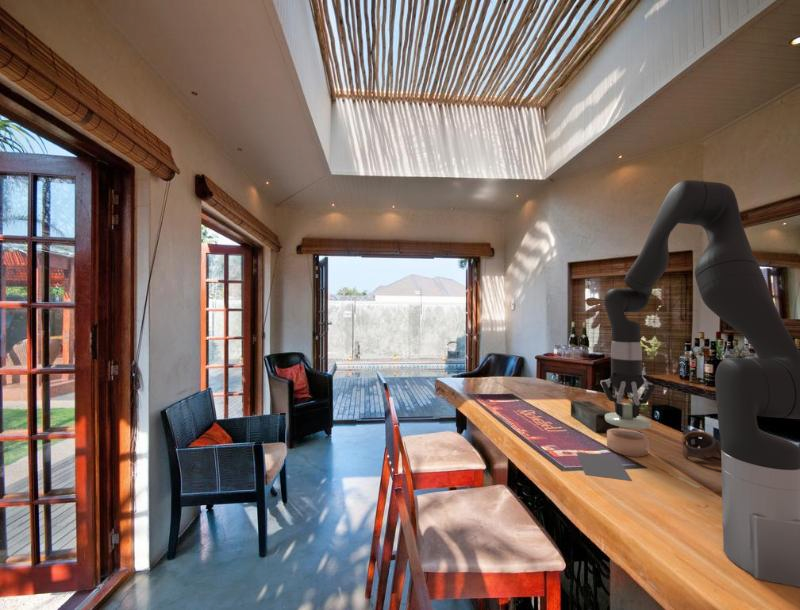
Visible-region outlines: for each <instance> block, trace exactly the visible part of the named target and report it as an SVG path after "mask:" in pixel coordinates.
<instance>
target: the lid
mask: <svg viewBox="0 0 800 610" xmlns="http://www.w3.org/2000/svg"><path fill="white" fill-rule="evenodd" d="M621 404H622V417H619V416H618V415H617V414H616V412H615V411H614V412H612V413H607V414H605V421H606V422H608V423H610V424H612V425H616V426H619V428H623V429H630V430H645V429H650V428H651V420H650V419H649V418H647V417H644V416H641V415H639V416H637V418H633V405H632V404H631V403H628V402H621Z"/></svg>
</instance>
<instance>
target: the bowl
mask: <svg viewBox="0 0 800 610" xmlns="http://www.w3.org/2000/svg"><path fill="white" fill-rule="evenodd" d="M606 446H607V448H608V449H609V450H611V451H612V452H615V453H616V454H620V455H622V456H627V457H628V456H629V457H639V458H640V457H643V456H647V455H648V454H649V436H648V435H646V434H644V433H643V432H639V431H636V430H634V429H629V428H620V427H619V428H615V429H609V430H607V433H606Z"/></svg>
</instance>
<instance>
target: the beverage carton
mask: <svg viewBox="0 0 800 610" xmlns="http://www.w3.org/2000/svg"><path fill="white" fill-rule="evenodd" d="M607 413H613V412H612V411H609V410H608V409H605V408H603V407H601V406H600V405H597V404H595V403H593V402H592V401H584V400H583V401H580V400H577V399H575V400H571V401H570V417H572V418H573V419H575V420H576V421H578V422H580V423H581V424H583V425H584V426H586V427H588V428H589V429H590V430H592V431H593V432H594V433H596V434H597V433H598V434H607V430H609V429H615V428H619V429H620V427H619V426H616V425H612V424H610V423H608V422H606V421H605V414H607Z"/></svg>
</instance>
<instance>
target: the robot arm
mask: <svg viewBox="0 0 800 610" xmlns="http://www.w3.org/2000/svg"><path fill="white" fill-rule="evenodd" d="M739 207H740V206H739V203H738V199H737V197H736V193H735V192H734V190H733V188H731V186H729V185H727V184H725V183H723V182H716V181H703V180H693V179H692V180H691V179H690V180H688V179H687V180H682V181H679V182H677V183H676V184H675V185H674V186H673V187H671V189H670V190H669V192H668V193H667V195H666V196H665V198H664V199H663V202H662V204H661V206H660V209H659V210H658V213H657V215H656V217H655V220H654V222H653V224H652V226H651V229H650V230H649V233H648V235H647V238H646V241H645V243H644V245H643V247H642V248H641V251H640V253H639V255H638V256H637V258H636V259H635V260H634V262H633V264H632V265H631V267H630V268H629V270H628V272H627V273H626V274H625V277H624V284H625V285H626V286H627V287H623V288H620V287H619V288H617V287H615V288H610V289H609V290H608V291H607V292H606V293H605V295H604V300H603V304H604V308H605V311H606V314H607V317H608V321H609V324H610V328H611V346H610V376H609V377H608V379H601V380H599V383H600V385H601V387H602V390H603V392H604V394H605V396H606V398H607V399H608V400H609V401H610V402H613V403H614V412H616V414H617V415H618V416H619V417H622V404H621V403H623V402H622V401H623V397H624V393H629V395H630V397H631V401H632V403H630V404H632V405H633V418H637V416H640V405H644V404H645V405H646V404H647V403H648V401H649V400H650V397H651V396H652V394H653V392H654V389H655V388H656V386H655V385H654V384H653V383H651V382H648V381H645V379H644V377H643V350H642V343H641V339H642V338H641V337H642V336H641V333H642V332H641V324H640V323H639V322H637V321H634V320H630V319H628V318H627V316H626V314H625V313H639V312H640V311H641V312H642V310H644V309H645V308H646V307H647V306H648V304H649V303H650V302H649V301H650V299H651V298H650V297H651V295H652V292H653V289H654V287H655V285H656V284H657V282H658V281H659V280H660V278H661V277H662V276H663V274H664V273H665V272H666V270H667V268H668V265H669V264H670V263H669V262H670V253H669V252H670V251H669V237H670V235H671V233H672V231H673V230H674V229H675V227H676V226H677V225H678V224H681V225H682V224H685V225H695V226H700V227H702V228H703V229H704V232H705V234H706V236H707V240H708V244H707V247H706V248H705V249H704V251H703V253H702V254H701V256H700V258H699V259H698V261H697V263H696V265H695V270H694V276H695V281H696V285H697V289H698V291H699V294H700V297H701V300H702V301H703V303H704V304H705V306H706V307H707V308H708V309H709V310H710V311H711V312H713V313H714V314H715V315H716V316H717V317H718V318H719V319H721V320H722V321H724V322H725V323H726V324H728V325H729V326H730V327H732V328H733V329H734V330H735V331H737V332H738V333H739V334H740V335H741V336H743V338H745V340H746V341H747V342H748V343H749V344H750V345H751V347H752V348H753V350H754V352H755V353H756V355H757V357H758V358H744V357H739V358H738V357H736V358H735V357H733V358H729V357H728V358H725V359H723V360H721V361H720V362H719V364H718V365H717V368H716V371H715V375H714V381H715V382H714V386H715V387H714V389H715V396H716V409H717V422H718V423H717V424H718V431H719V432H718V433H719V437H720V445H721V457H722V459H721V501H722V502H721V505H722V506H721V511H722V513H721V514H722V516H721V517H722V542H723V543H722V544H723V549H722V550H723V553H724V555H726V558H728V559H729V560H730V561H731V562H733V563H734V564H736V565H737V566H738V567H739V568H741V569H743V570H745V571H747V572H749V573H750V574H751V575H752V576H753V577H754V578H755V579H757V580H763V581H766V582H767V581H768V582H771V583H777V584H782V585H787V586H792V587H797V588H800V447H799V446H798V445H797V444H795V443H794V442H792V441H789V440H787V439H785V438H782V437H779V436H776V435H774V434H770V433H768V432H766V431H764V430H762V429H760V428H759V424H758V420H757V419H758V418H757V417H764V418H765V417H768V418H780V419H781V418H782V419H795V420H796V419H797V420H800V349H799V347H798V346H797V344H796V343H795V340H794V339H793V337H792V336H791V334H790V332H789V330H788V328H787V327H786V325H785V323H784V321H783V319H782V317H781V315H780V313H779V310H778V308H777V306H776V304H775V301H774V299H773V296H772V294H771V292H770V289H769V286H768V284H767V281H766V278H765V275H764V274H763V271H762V268H761V267H760V265H759V262H758V261H757V259H756V257H755V255H754V252H753V250H752V247H751V244H750V242H749V239H748V236H747V234H746V230H745V229H744V225H743V222H742V215H741V213H740V208H739ZM611 384H612V385H613V386H614V388H615V390H614V391H615V392H614V393H615V394H614V396H613V394H612V392H611V390H610V387H611ZM641 387H643V389H644V390H643V391H642V393H641V395H640V397H639V391H638V390H639V389H641Z"/></svg>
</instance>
